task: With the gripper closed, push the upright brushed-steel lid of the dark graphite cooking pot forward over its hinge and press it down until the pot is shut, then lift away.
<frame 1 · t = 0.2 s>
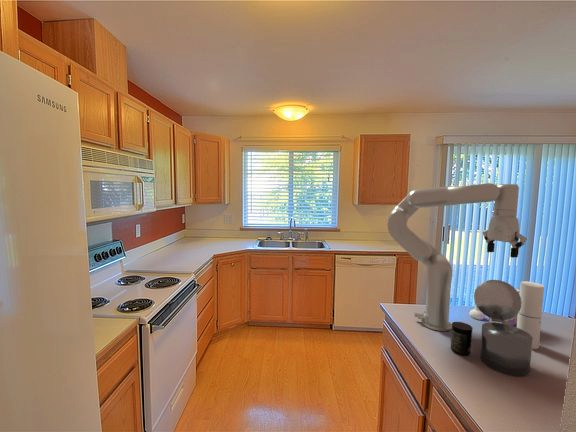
hand: (501, 254, 115), 35 cm above the worktop, tool pointing down, fingers open, 9 cm apart
pot lid: (496, 300, 107), point 19 cm above the worktop, hinge at 105.0°
candy box: (504, 324, 128), on the worktop
garlic bulb: (476, 317, 135), on the worktop
supplement container: (460, 352, 105), on the worktop
cooking pot: (503, 363, 98), on the worktop
cylindrical container: (526, 344, 111), on the worktop
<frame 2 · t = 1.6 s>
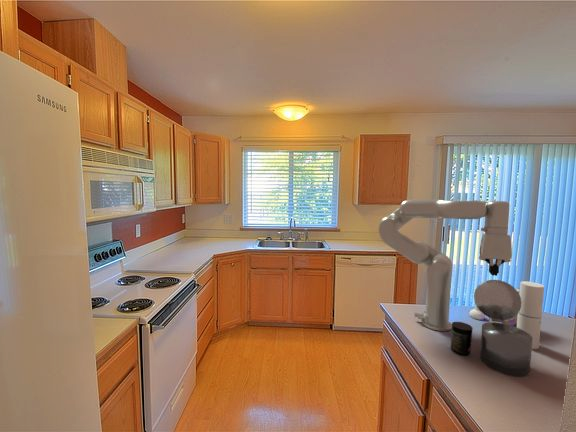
hand: (493, 274, 114), 27 cm above the worktop, tool pointing down, fingers closed
nothing on the worktop moved.
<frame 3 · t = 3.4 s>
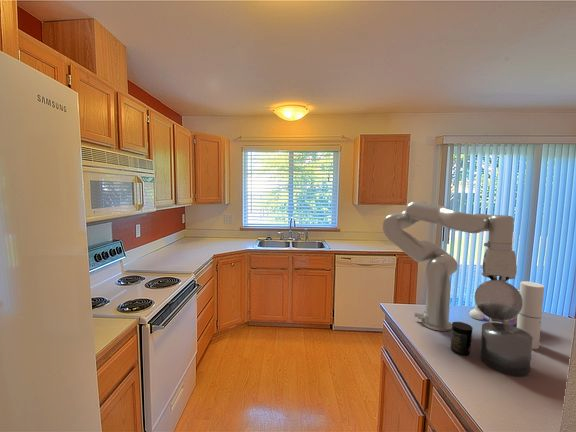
hand: (497, 291, 109), 22 cm above the worktop, tool pointing down, fingers closed
pot lid: (496, 300, 106), point 20 cm above the worktop, hinge at 98.5°, touching gripper
everything else where it was.
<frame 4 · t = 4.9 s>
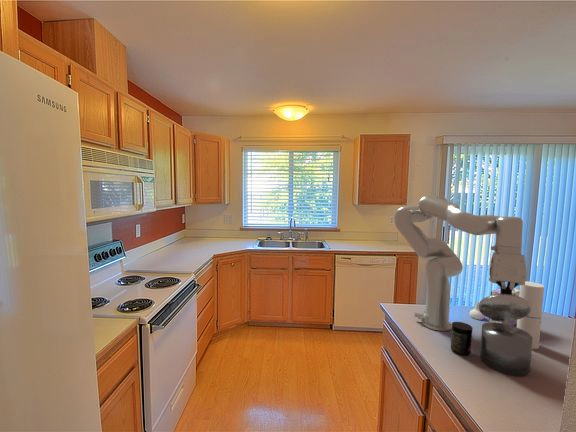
hand: (505, 298, 102), 22 cm above the worktop, tool pointing down, fingers closed
pot lid: (502, 306, 101), point 19 cm above the worktop, hinge at 54.6°, touching gripper
everything else where it was.
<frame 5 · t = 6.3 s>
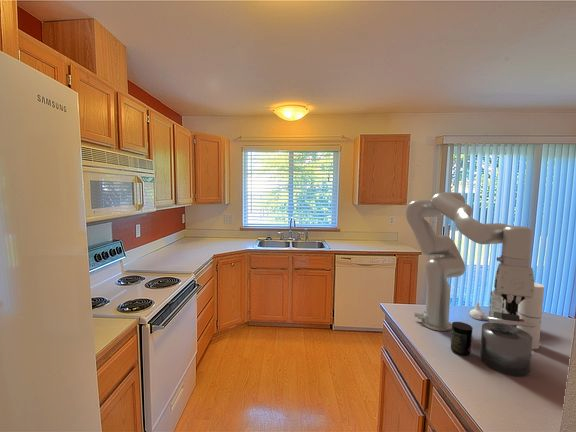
hand: (511, 312, 96), 19 cm above the worktop, tool pointing down, fingers closed
pot lid: (505, 318, 98), point 16 cm above the worktop, hinge at 18.9°, touching gripper
everything else where it was.
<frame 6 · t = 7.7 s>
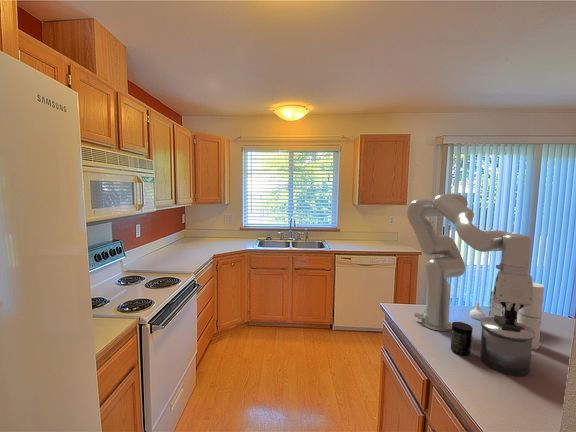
hand: (510, 320, 96), 16 cm above the worktop, tool pointing down, fingers closed
pot lid: (506, 324, 97), point 14 cm above the worktop, hinge at 2.0°
everything else where it was.
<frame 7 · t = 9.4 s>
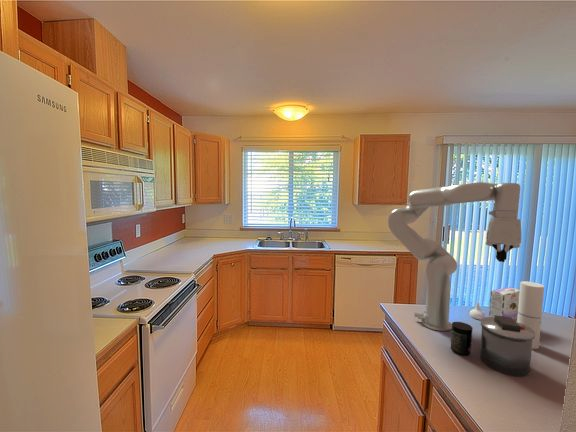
hand: (500, 261, 108), 34 cm above the worktop, tool pointing down, fingers closed
nothing on the worktop moved.
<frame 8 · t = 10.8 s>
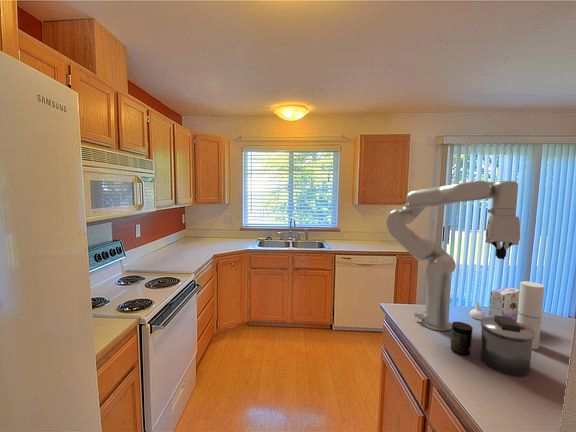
hand: (500, 258, 109), 35 cm above the worktop, tool pointing down, fingers closed
nothing on the worktop moved.
at the end: pot lid at +2° (first picture: +105°); supplement container moved 0.2 cm from its start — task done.
